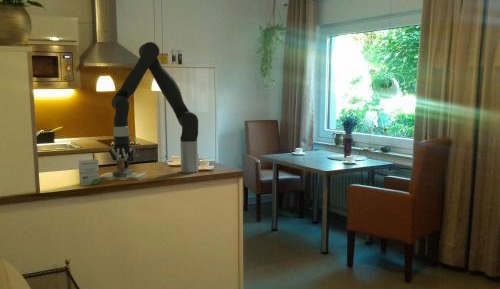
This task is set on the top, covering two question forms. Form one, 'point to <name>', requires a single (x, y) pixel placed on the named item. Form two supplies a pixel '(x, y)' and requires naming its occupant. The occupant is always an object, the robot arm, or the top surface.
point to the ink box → (89, 172)
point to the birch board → (131, 177)
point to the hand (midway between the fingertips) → (122, 168)
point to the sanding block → (122, 169)
